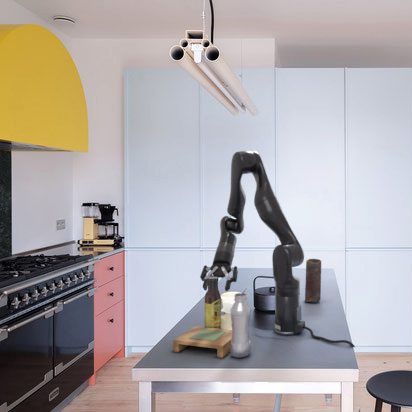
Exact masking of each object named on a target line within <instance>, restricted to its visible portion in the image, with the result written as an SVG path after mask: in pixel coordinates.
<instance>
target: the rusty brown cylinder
mask: <svg viewBox="0 0 412 412" xmlns="http://www.w3.org/2000/svg"><path fill="white" fill-rule="evenodd" d="M305 262H306V263H305V287H304V289H305V290H304V301H305V302H306V303H318V302H320V301H321V297H322V296H321V295H322V293H321V292H322V260H321V259H318V258H308V259H306V261H305Z"/></svg>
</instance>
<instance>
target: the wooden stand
mask: <svg viewBox="0 0 412 412" xmlns="http://www.w3.org/2000/svg"><path fill="white" fill-rule="evenodd" d="M231 338H232V329H228V328H227V329H225V328H220V329H218V328H208V327H205V326H198V325H195V326H193V327H192V328H190V329H188V330H187V331H185V332H184V333H182V334H181V335H179V336H176V337H175V338H174V339H172V350H173V353H180V352H181V351H183V350H185V349H186V348H187V347H189V346H191V347H199V348H209V349H215V350H216V357H217V358H219V359H220V358H221V359H223V358H225V357H226V356H227V355H228V354H230V344H231Z"/></svg>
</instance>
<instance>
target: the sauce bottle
mask: <svg viewBox="0 0 412 412" xmlns="http://www.w3.org/2000/svg"><path fill="white" fill-rule="evenodd" d="M203 305H204V306H203V307H204V309H203V311H204V312H203V314H204V315H203V316H204V317H203V318H204V319H203V324H204V325H203V326H204V327H208V328H218V329H221V326H222V297H221V293H220V290H219V278H218V277H208V287H207V290H206V292H205V294H204V304H203Z"/></svg>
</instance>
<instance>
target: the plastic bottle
mask: <svg viewBox="0 0 412 412" xmlns="http://www.w3.org/2000/svg"><path fill="white" fill-rule="evenodd" d="M247 299H248V297H247V294H246V293H244V292H239V293H234V299H233V301H234V303H233V304H232V307H231V308H230V313H229V314H230V321H231V330H232V338H231V344H230V352H229V354H230V355H231V356H232V357H234V358H245V357H248V356H249V354H250V353H251V351H252V346H251V340H250V339H251V338H250V321H251V315H252V309H251V307H250V305H249V304H248V303H247Z"/></svg>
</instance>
